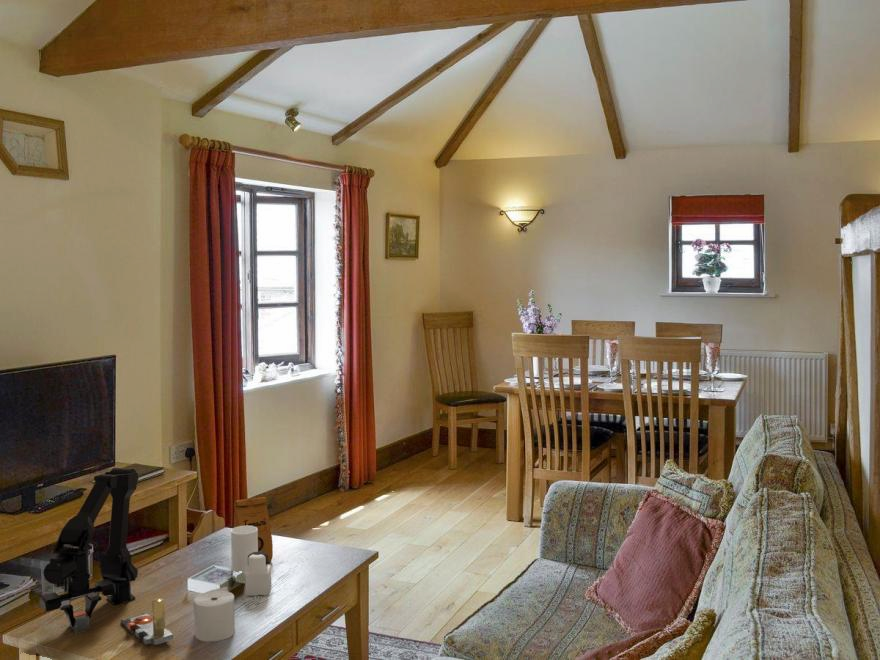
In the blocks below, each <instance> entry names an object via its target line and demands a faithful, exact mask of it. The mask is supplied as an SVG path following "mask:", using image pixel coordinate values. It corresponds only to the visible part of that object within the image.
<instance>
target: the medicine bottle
mask: <svg viewBox="0 0 880 660" xmlns="http://www.w3.org/2000/svg"><path fill="white" fill-rule="evenodd" d="M271 588H272V565H271V564H269V562H268V555H267V553H265V552H260V551H258V552H253V553H251V554H249V555H248V567H247V570H246V572H245V583H244V595H245V597H255V596H256V597H259V596H258V595H264V596H269V595H270V593H271Z"/></svg>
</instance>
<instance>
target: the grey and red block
mask: <svg viewBox="0 0 880 660" xmlns="http://www.w3.org/2000/svg"><path fill="white" fill-rule="evenodd" d="M73 615H74V627H71V625H70V624H69V627H70V628H71V629H72V630H73V632H75V634H76V635H78V634H80V633H84V632H88V631H90V630H91V629H90V619H89V615H88V614H87V613H86V612H85V610H84V609H83V608H81V609H77V610H73ZM87 630H88V631H87ZM83 631H84V632H83Z"/></svg>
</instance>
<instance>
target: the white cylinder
mask: <svg viewBox="0 0 880 660" xmlns="http://www.w3.org/2000/svg"><path fill="white" fill-rule="evenodd" d="M230 541H231V542H230V545H231V549H230V550H231V572H232V571H235V572H239V571H242V572H243V573H244V580H245V572H246V570H247V567H248V555H249V554H251V553H253V552H258V530H257V527H254V526H239V527H235V528H234V527H233V528H231V530H230Z"/></svg>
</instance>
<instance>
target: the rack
mask: <svg viewBox="0 0 880 660" xmlns="http://www.w3.org/2000/svg"><path fill="white" fill-rule="evenodd" d="M151 601H152V608H151V609H152V616H151V615H150V614H149V613H144V615H142V614H141V616H140V615H137V616H134V617H131V618H129V619H130V623H127V625H128V629H129V630H130V631H131V630H135V629H137V630H135V635H136V636H137V637H138V638H139V637H142V636H145V637H143V640H144V643H145V644H146V645H147V646H149V645H148V644H150V645H154V646H157V645H160V644H163V643H166V642H169V641H172V640H174V633H172V632H171V631H170V630H169V629H167V628H166V621H165V620H166V618H165V617H166V616H165V615H166V611H165V599H164V598H160V597H159V598H154V599H153V600H151ZM128 629H127V630H128ZM129 630H128V631H129ZM130 631H129V632H130ZM135 635H134V636H135ZM136 636H135V637H136ZM137 637H136V638H137ZM138 638H137V639H138ZM144 643H143V644H144ZM151 643H153V644H151ZM145 644H144V645H145ZM146 645H145V646H146Z"/></svg>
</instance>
